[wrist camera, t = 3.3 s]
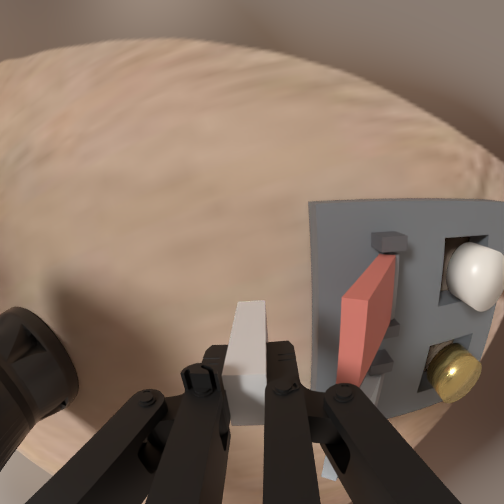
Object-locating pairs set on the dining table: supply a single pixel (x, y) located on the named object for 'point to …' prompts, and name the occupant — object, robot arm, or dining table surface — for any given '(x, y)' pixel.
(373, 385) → the paddle grey
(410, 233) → the panel
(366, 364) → the paddle red
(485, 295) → the button white
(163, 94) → the dining table surface
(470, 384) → the button brass
